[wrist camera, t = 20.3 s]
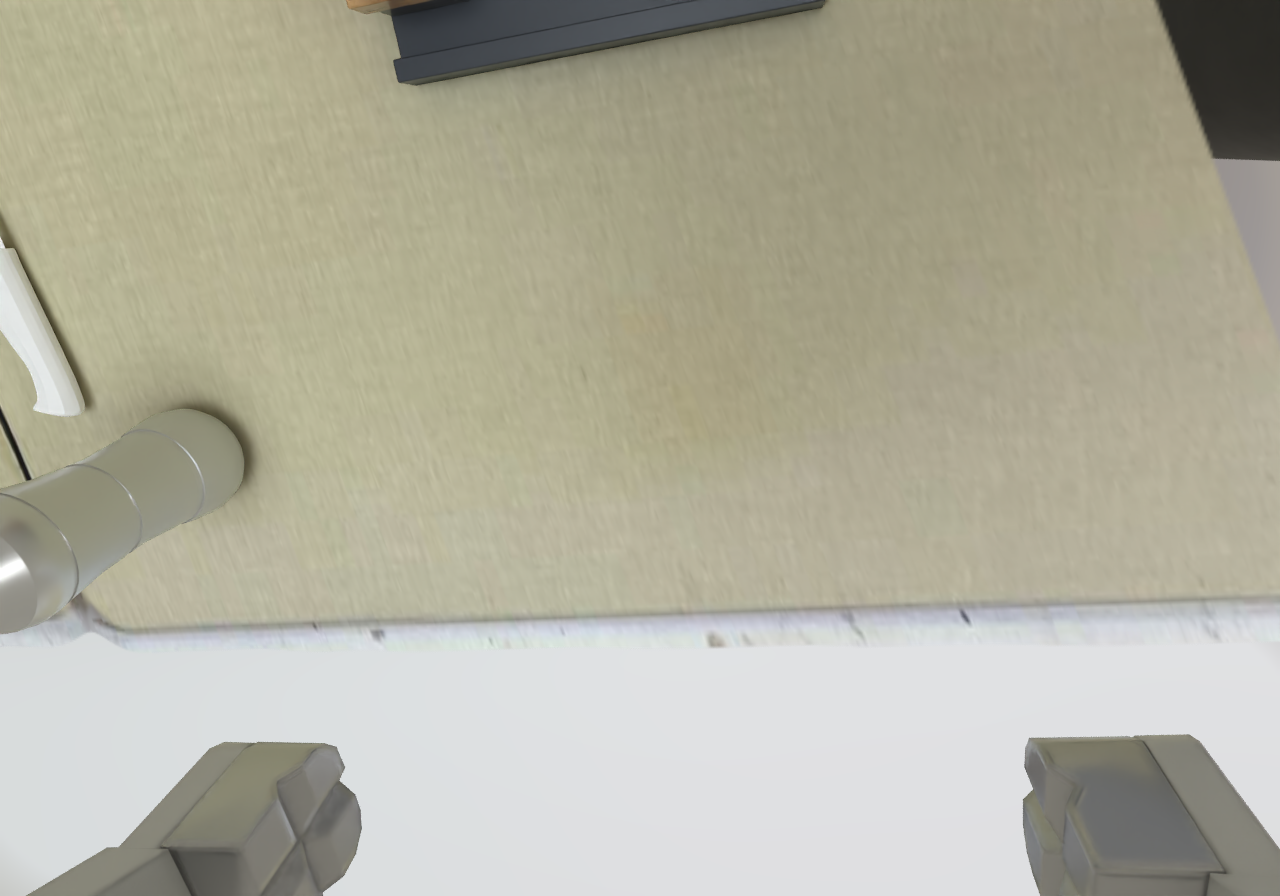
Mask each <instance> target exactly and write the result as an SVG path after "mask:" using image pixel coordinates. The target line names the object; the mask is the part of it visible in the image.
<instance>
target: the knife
mask: <svg viewBox="0 0 1280 896" xmlns="http://www.w3.org/2000/svg"><path fill="white" fill-rule="evenodd" d="M0 330H1V331H2V333H3V335H4V336H5V337H6V339H7V340H8V341H9V343H10V344H11V346H12V347H13V348H14V350H15V351H16V352H17V354H18V355H19V356H20V358H21V359H22V360H23V362H24V363H25V364H26V366H27V368H28V370H29V372H30V373H31V375H32V379H33V382H34V385H35V389H36V393H37V397H38V400H37V402H36V404H35V405H34V409H33V410H35V411H38V412H41V413H46V414H50V415H54V416H62V417H70V416H76V415H80V414H81V413H82V412H83V411H84V410H85V403H84V399H83V396H82V394H81V391H80V388H79V386H78V383H77V381H76V378H75V376H74V374H73V372H72V370H71V367H70V365H69V363H68V361H67V359H66V357H65V355H64V352H63V350H62V348H61V346H60V344H59V342H58V340H57V338H56V336H55V334H54V332H53V329H52V327H51V325H50V323H49V321H48V319H47V317H46V315H45V313H44V311H43V309H42V307H41V304H40V302H39V300H38V298H37V296H36V294H35V292H34V290H33V288H32V286H31V284H30V281H29V279H28V277H27V275H26V273H25V271H24V269H23V267H22V265H21V262H20V260H19V258H18V255H17V253H16V251H15V249H14V248H5V246H4V244H3V242H2V240H1V238H0Z"/></svg>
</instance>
